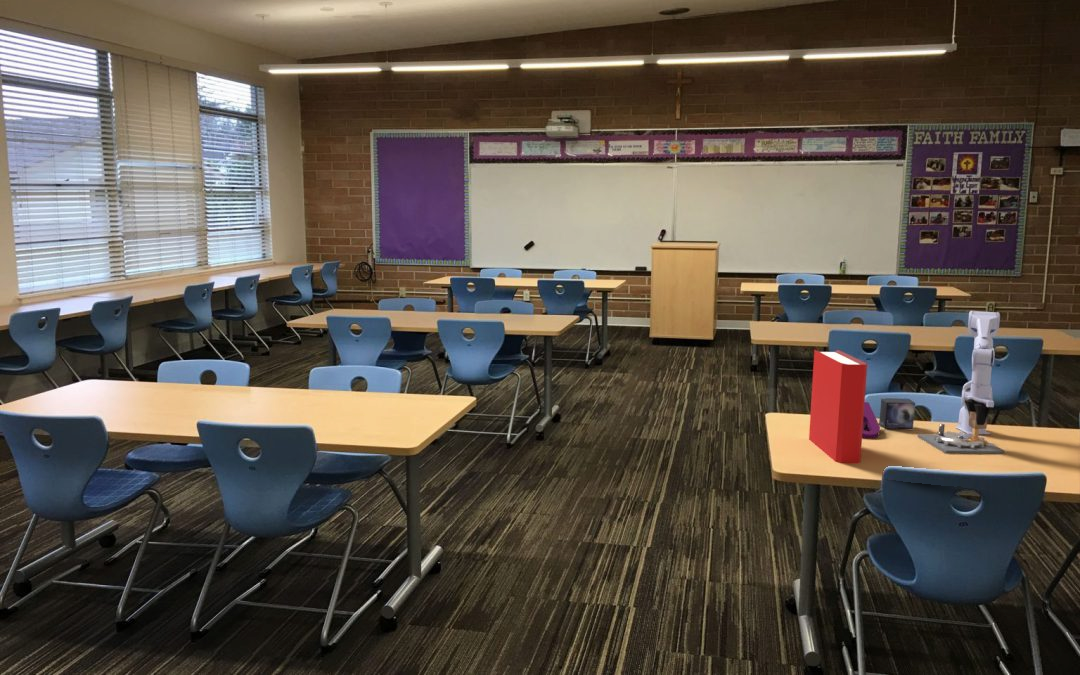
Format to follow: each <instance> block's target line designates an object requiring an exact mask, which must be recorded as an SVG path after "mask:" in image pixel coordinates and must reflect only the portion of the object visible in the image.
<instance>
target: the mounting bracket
mask: <svg viewBox="0 0 1080 675" xmlns="http://www.w3.org/2000/svg"><path fill="white" fill-rule="evenodd" d="M875 415H876V414H875V413H874V411H873V409H872V407H871V405H870V402H867V401H865V404H864V418H863V431H862V439H876V438H877V437H878V436H879V433H880V431H881V426H880V425H879V421H878V420H877V417H876V416H875ZM867 430H868V431H867Z"/></svg>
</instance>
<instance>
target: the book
mask: <svg viewBox="0 0 1080 675" xmlns="http://www.w3.org/2000/svg"><path fill="white" fill-rule="evenodd" d="M812 368H813V369H812V385H811V401H810V414H809V416H810V417H809V418H810V419H809V434H808V440H809V441H810V442H811V443H813V444H814V445H815V446H816V447H817V448H819V449H820V450H821V451H822V452H823V453H824V454H825V455H827V456H828V457H829V458H830V459H832V460H833V461H834V462H835V463H839V464H859V463H861V457H862V456H861V455H862V444H863V442H862V441H863V438H862V431H863V418H864V404H865V402H866V401H865V400H866V391H867V390H866V388H867V376H868V375H867V374H868V373H867V372H868V363H866V362H865V361H863V360H861V359H858V358H856V357H854V356H852V355H850V354H848V353H845V352H844V351H841V350H839V349H837V350H836V351H818V350H816V349H814V353H813V367H812Z"/></svg>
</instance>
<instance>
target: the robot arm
mask: <svg viewBox="0 0 1080 675" xmlns="http://www.w3.org/2000/svg"><path fill="white" fill-rule="evenodd" d="M1000 319H1001V314H1000V312H999V311H997V312H994V311H993V312H992V311H977V310H970V311H969V312H968V322H967V323H968V324H967V326H968V327H967V331H968V334H970V335H972V336H973V338H974V341H973V350H972V354H971V370H972V371H971V380H969V381H967V382H965V384H964V385H963V386H962V390H961V400H960V404H961V406H962V407H961V408H960V410H959V414H958V425H957V426H955V428H956V429H957V430H960V432H963V433H965V434H972V432H973V428H972V427H970V426H969V415H970V412H976V414H977V425H984V424H985V421H986V419H987V420H988V418H987V416H988V417H989V414H990V413H991V411H992V410H993V409H994V406H995V401H994V400H993V396H994V394H993V388H992V386H991V382H992V381H991V380H992V378H991V377H992V368H993V366H994V363H995V355H996V354H995V352H996V351H995V349H994V340H993V338H992V337H993V336H997V333H998V332H999V328H1000V322H1001V321H1000ZM978 435H991V433H990V432H989V431H986V429H979V434H978Z"/></svg>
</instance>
